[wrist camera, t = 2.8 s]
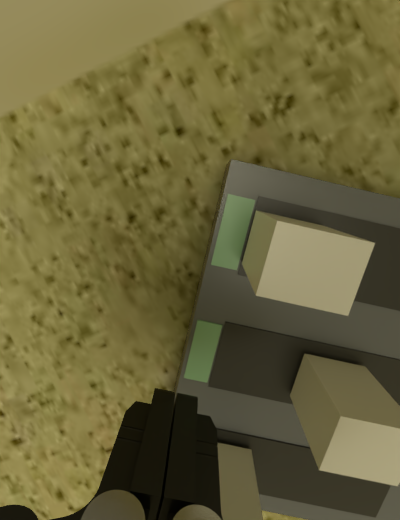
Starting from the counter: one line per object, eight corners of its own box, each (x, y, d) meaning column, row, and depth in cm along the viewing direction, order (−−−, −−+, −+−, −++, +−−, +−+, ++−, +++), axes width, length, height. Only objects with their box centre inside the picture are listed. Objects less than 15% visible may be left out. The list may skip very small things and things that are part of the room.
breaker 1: (251, 449, 16) (265, 536, 12) (239, 484, 16) (250, 579, 12) (195, 437, 16) (191, 521, 12) (185, 473, 16) (178, 565, 12)
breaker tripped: (365, 366, 14) (423, 433, 10) (348, 408, 15) (397, 486, 11) (304, 353, 14) (340, 416, 10) (289, 395, 15) (319, 470, 11)
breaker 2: (324, 225, 13) (375, 243, 9) (307, 278, 13) (347, 316, 9) (255, 210, 13) (277, 220, 9) (241, 263, 13) (255, 295, 9)
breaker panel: (484, 224, 16) (550, 233, 13) (365, 485, 20) (393, 538, 17) (226, 164, 15) (231, 158, 12) (161, 443, 20) (153, 490, 17)
